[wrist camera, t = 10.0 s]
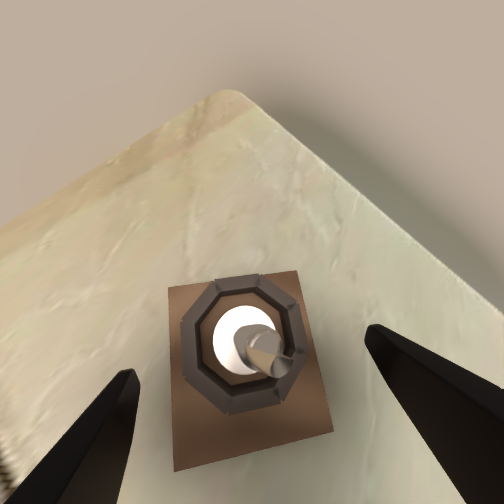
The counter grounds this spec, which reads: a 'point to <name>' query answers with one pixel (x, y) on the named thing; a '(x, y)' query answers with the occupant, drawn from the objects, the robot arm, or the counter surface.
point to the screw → (250, 343)
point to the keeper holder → (235, 385)
